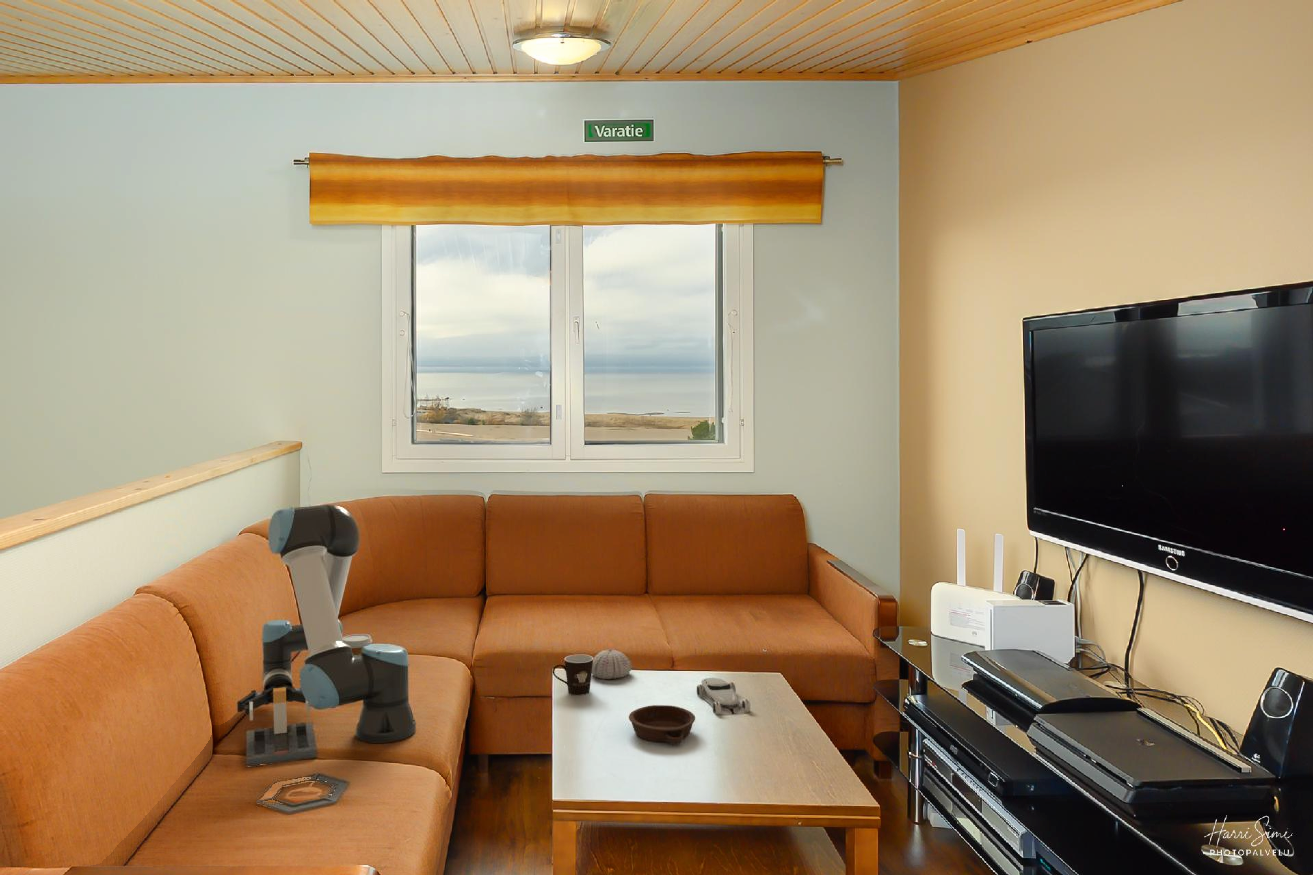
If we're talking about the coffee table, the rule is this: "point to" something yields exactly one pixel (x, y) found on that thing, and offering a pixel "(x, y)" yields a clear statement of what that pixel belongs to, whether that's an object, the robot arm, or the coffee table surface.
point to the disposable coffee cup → (357, 642)
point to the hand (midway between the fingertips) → (280, 711)
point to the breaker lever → (280, 710)
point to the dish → (662, 723)
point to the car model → (722, 697)
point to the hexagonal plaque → (289, 808)
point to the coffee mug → (577, 673)
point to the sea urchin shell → (610, 665)
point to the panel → (280, 745)
